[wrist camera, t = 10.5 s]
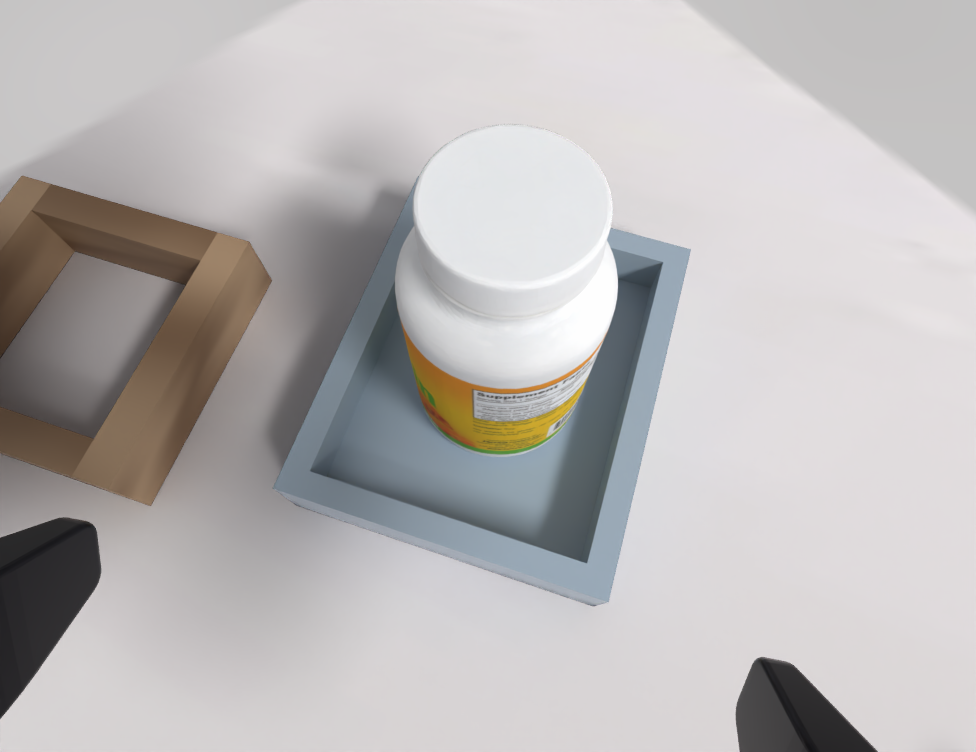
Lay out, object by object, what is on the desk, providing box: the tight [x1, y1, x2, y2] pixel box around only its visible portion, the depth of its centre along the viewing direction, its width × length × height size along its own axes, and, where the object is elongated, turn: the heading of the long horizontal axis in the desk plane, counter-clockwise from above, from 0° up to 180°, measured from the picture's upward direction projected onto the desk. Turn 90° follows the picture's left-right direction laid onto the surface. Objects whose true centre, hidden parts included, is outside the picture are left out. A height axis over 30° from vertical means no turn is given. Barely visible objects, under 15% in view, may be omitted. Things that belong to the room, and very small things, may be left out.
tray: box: [273, 176, 691, 606], centre depth 21 cm, size 12×10×2 cm
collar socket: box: [0, 176, 272, 506], centre depth 21 cm, size 9×9×2 cm
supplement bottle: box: [395, 124, 618, 457], centre depth 17 cm, size 5×5×10 cm
